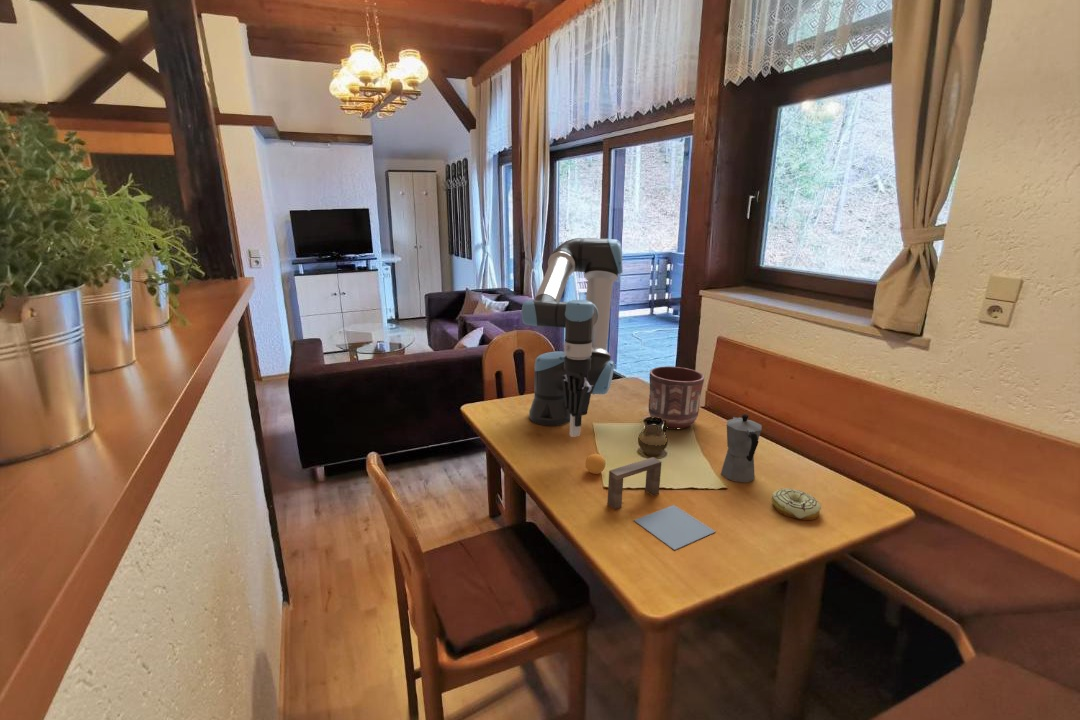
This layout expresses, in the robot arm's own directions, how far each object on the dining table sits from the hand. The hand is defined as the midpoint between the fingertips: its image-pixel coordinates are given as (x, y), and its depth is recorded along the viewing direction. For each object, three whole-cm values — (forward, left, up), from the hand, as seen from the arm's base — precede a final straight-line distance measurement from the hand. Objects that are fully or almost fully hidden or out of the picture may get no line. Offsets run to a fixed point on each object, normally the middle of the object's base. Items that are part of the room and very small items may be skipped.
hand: (574, 435), depth 151 cm
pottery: (-5, +45, -8) cm, 46 cm away
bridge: (+26, 0, -8) cm, 27 cm away
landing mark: (+40, 0, -8) cm, 40 cm away
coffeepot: (+32, +33, -8) cm, 47 cm away
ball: (+10, 0, -5) cm, 11 cm away
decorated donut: (+50, +31, -8) cm, 59 cm away
